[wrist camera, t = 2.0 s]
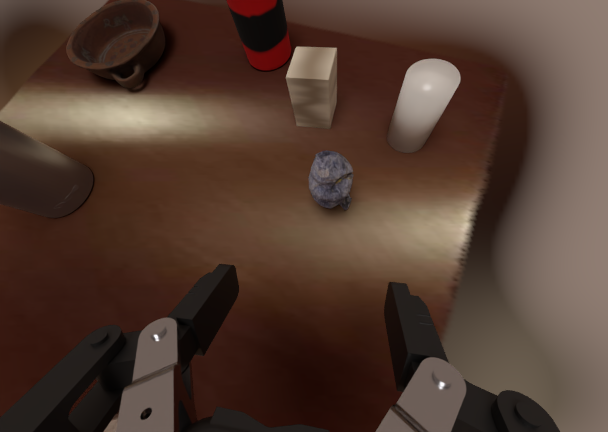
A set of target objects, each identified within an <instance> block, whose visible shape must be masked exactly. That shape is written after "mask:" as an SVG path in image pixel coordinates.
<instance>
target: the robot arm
mask: <svg viewBox="0 0 608 432" xmlns="http://www.w3.org/2000/svg"><path fill="white" fill-rule="evenodd" d="M92 185H93V174H92V172H91V170H90V169H89V168H88V167H87V166H85V165H83V164H81V163H79V162H78V161H76V160H74V159H72V158H70V157H68V156H66V155H64V154H62V153H60V152H59V151H57V150H55V149H53V148H51V147H49V146H47V145H45V144H43V143H42V142H40V141H38V140H36V139H34V138H32V137H30V136H28V135H26V134H24V133H22V132H20V131H19V130H17V129H15V128H13V127H11V126H9V125H7V124H5V123H3V122H1V121H0V204H2V205H6V206H9V207H13V208H16V209H20V210H23V211H27V212H31V213H34V214H38V215H41V216H45V217H49V218H59V217H62V216H65V215H67V214H69V213H71V212H73V211H74V210H76V209H77V208H78V207H79V206H80V205H81V204H82V203H83V202H84V201H85V200H86V198H87V197H88V195H89V193H90V191H91V189H92ZM238 293H239V285H238V279H237V273H236V268H235V266H234V265H226V264H219V265H218V266H217V267H216V269H215V270H214V271H213V272H212V273H210V272H209V273H208V274H206V275H205V276H203V277H202V278H200V279H199V280H198V282H197V283H196V284H195V285H194V287H192V289H191V290H190V291H189V293H188V294H187V295H186V296H185V297H184V298H183V299H182V300H181V302H180V303H179V304H178V305H177V306H176V307H175V309H174V310H173V311H172V312H171V313H170V315H169V316H168V317H167V318H162V319H158V320H156V321H154V322H152V323H151V324H149V325H148V326H147V327H145V328H144V330H142V331H135V332H129V333H123V332H122V331H121V329H120V327H119V326H117V325H108V326H105V327H102V328H99V329H97V330H95V331H94V332H92V333H90V334H89V335H88V336H87V337H85V338H84V339H83V340H82V341H81V342H80V343H79V344H78V345H77V346H76V347H75V348H74V349H73V350H72V351H70V352H69V353H68V354H67V355H66V356H65V357H64V358H63V359H62V360H61V361H60V362H59V363H58V364H57V365H56V366H55V367H53V368H52V369H51V370H50V371H49V372H48V373H47V374H46V375H45V376H44V377H43V378H42V379H41V380H40V381H39V382H38V383H37V384H35V385H34V386H33V387H32V388H31V389H30V390H29V391H28V392H27V393H26V394H25V395H24V396H23V397H22V398H21V399H20V400H19V401H17V402H16V403H15V404H14V405H13V406H12V407H11V408H10V409H9V410H8V411H7V412H6V413H5V414H4V415H3V416H2V417H1V418H0V432H104V430H105V429H106V427H107V426H108V425H109V423H110V422H111V420H112V419H113V417H114V416H115V414H116V413H117V412H118V410H119V409H120V410H119V416H118V422H117V428H116V432H329V430H325V429H320V428H316V427H311V426H306V425H301V424H298V425H289V426H281V427H273V428H269V427H266V426H264V425H263V424H261V423H260V422H258V421H256V420H255V419H253V418H251V417H250V416H248V415H247V414H245V413H243V412H240V411H235V410H230V409H226V408H221V407H217V408H216V410H215V412H214V415H213V416H212V417H208V418H204V419H201V420H199V421H198V420H197V415H196V410H195V404H194V392H193V378H192V365H191V360H192V358H193V356H194V355H195V354H196V355H201V356H204V355H205V353H206V351H207V349H208V348H209V346H210V344H211V342H212V341H213V339H214V337H215V335H216V334H217V332H218V330H219V328H220V327H221V325H222V323H223V321H224V320H225V318H226V316H227V314H228V313H229V311H230V309H231V308H232V306H233V304H234V302H235V301H236V299H237V296H238ZM384 316H385V323H386V329H387V334H388V340H389V346H390V352H391V358H392V364H393V370H394V376H395V381H396V387H397V391H402V392H403V394H402V395H401V397H400V398H399V400H398V402H397V403H396V404H395V405H393V406H392V407H391V408H390V410H389V411H388V413H387V414H386V416H385V417H384V419H383V421H382V422H381V424H380V426H379V427H378V429H377V430H376V432H560V431H559V429H558V427H557V426H556V424H555V422H554V421H553V419H552V418H551V417H550V416H549V414H548V413H547V412H546V411H545V410H544V409H543V408H542V407H541V406H540V405H539V404H537V403H536V402H535V401H533V400H532V399H530V398H529V397H527V396H525V395H523V394H521V393H519V392H515V391H510V390H506V391H502V392H501V393H500V394H499V395H498V396H497V395H495V394H492V393H490V392H488V391H486V390H484V389H481V388H479V387H477V386H475V385H473V384H471V383H469V382H467V381H466V380H464V379H463V377H462V376H461V374H460V373H459V372H458V371H457V369H456V368H454V367H453V366H452V365H451V364H450V363H449V362H448V360H447V357H446V355H445V352H444V349H443V347H442V344H441V342H440V339H439V336H438V334H437V331H436V329H435V326H434V324H433V321H432V318H431V317H430V313H429V311H428V308H427V306H426V304H425V303H424V302H423V301H422V300H421V299H420V298H419V296H413V295H410V292H409V289H408V286H407V284H406V283H396V282H389V285H388V290H387V295H386V300H385V307H384ZM95 378H96V379H97V381H98V382H97V383H96V384H95V385H94V387H93V388H92V389H91V390H90V391H89V393H88V394H87V395H86V396H85V397H84V398H83V400H82V401H81V402H80V403H79V404H78V406H77V407H76V408H75V409H74V410H73V411H72V413H71V414H70V415H69V411H70V409H71V407H72V406H73V404H74V403H75V401H76V400H77V399H78V398H79V397H80V396H81V395H82V393H83V392H84V391H85V390H86V389H87V388H88V386H89V385H90V384H91V383H92V382H93V381H94V380H95ZM68 415H69V416H68Z"/></svg>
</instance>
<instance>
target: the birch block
mask: <svg viewBox="0 0 608 432" xmlns="http://www.w3.org/2000/svg"><path fill="white" fill-rule="evenodd" d="M286 80H287V85H288V89H289V93H290V98H291V102H292V106H293V111H294V115H295V120H296V124H297V126H306V127H315V128H325V129H330V128H331V124H332V119H333V115H334V111H335V107H336V103H337V48H322V47H296V49H295V52H294V55H293V58H292V61H291V64H290V67H289V70H288V72H287V75H286Z"/></svg>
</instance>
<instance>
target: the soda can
mask: <svg viewBox="0 0 608 432" xmlns="http://www.w3.org/2000/svg"><path fill="white" fill-rule="evenodd" d="M227 3H228V6H229V9H230V11H231V14H232V17H233V20H234V22H235V25H236V28H237V30H238V33H239V36H240V38H241V41H242V44H243V47H244V49H245V52H246V55H247V57H248V60H249V62H250V64H251V65H252V66H253V67H255V68H256V69H259V70H262V71H269V70H274V69H277V68H279V67H281V66H282V65H283V64H285V63H286V61H287V60H288V58H289V57H290V54H291V45H290V40H289V34H288V29H287V23H286V18H285V13H284V7H283V2H282V0H227Z"/></svg>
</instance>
